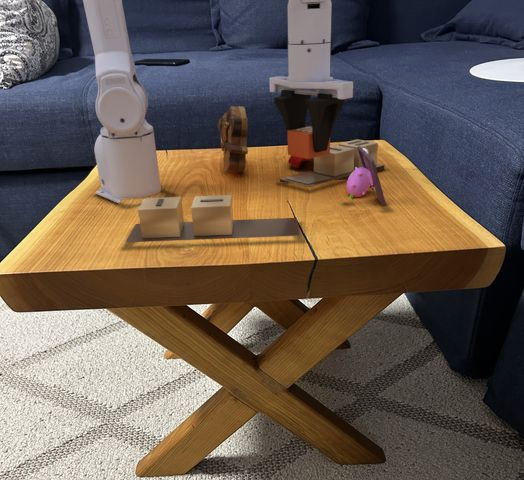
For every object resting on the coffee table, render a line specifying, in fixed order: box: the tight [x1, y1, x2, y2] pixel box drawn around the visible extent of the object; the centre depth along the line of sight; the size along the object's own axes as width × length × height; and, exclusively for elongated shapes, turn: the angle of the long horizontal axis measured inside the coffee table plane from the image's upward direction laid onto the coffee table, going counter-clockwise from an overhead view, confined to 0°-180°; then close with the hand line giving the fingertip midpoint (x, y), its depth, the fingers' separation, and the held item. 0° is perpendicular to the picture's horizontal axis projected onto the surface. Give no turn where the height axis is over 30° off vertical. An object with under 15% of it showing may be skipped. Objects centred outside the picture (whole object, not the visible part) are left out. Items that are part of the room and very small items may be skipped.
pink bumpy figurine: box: [345, 146, 387, 207], centre depth 74 cm, size 7×5×9 cm
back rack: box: [279, 139, 385, 188], centre depth 86 cm, size 17×6×4 cm, turn 131°
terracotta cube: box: [287, 125, 331, 159], centre depth 81 cm, size 4×4×4 cm
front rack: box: [125, 194, 301, 243], centre depth 65 cm, size 20×6×4 cm, turn 91°
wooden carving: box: [217, 105, 249, 174], centre depth 91 cm, size 16×5×10 cm, turn 13°
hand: (308, 148), depth 82 cm, fingers closed on terracotta cube, 4 cm apart
